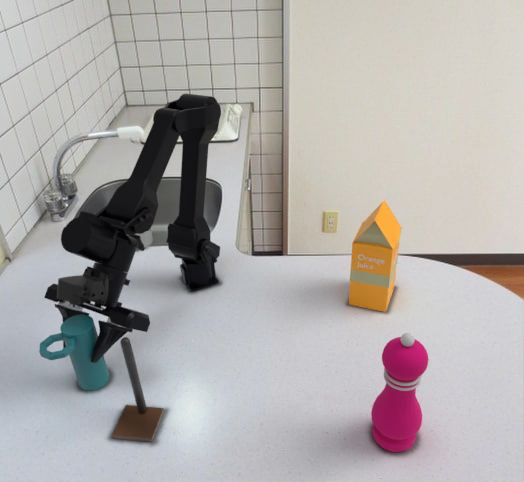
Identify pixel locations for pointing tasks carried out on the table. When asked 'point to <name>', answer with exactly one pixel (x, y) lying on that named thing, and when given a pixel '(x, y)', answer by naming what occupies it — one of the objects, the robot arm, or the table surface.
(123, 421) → the peg stand
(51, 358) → the jug
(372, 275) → the orange juice
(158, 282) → the table surface
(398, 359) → the pepper mill
